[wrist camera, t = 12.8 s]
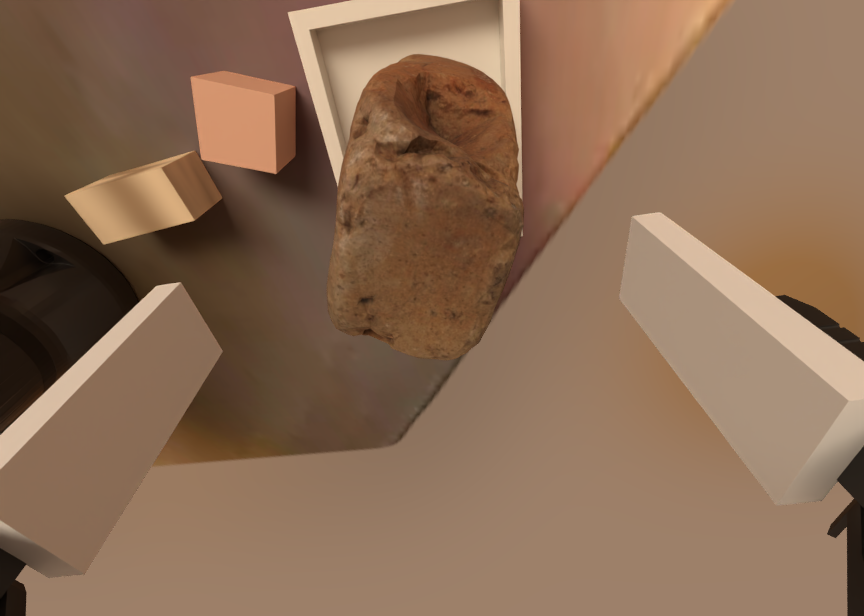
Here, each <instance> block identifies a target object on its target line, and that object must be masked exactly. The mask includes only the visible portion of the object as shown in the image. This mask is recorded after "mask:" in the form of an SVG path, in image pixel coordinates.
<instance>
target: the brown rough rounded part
mask: <svg viewBox="0 0 864 616" xmlns="http://www.w3.org/2000/svg"><path fill="white" fill-rule="evenodd" d="M518 152H519V147H518V143H517V137H516V130H515V124H514V120H513V115H512V111H511V107H510V103H509V101H508V98H507V96H506V94H505V92H504V91H503V90H502V88H501V87H500V86H499V85H498V84H497V83H496V82H495V81H494V80H493V79H492V78H490V77H489V76H487V75H486V74H485V73H484V72H482V71H480V70H478V69H476V68H474V67H472V66H470V65H467V64H465V63H462V62H458V61H455V60H452V59H448V58H444V57H439V56H432V55H424V54H412V55H409V56H406V57H404V58H402V59H401V60H400V61H399V62H398V63H394V64H391V65H389V66H387V67H385V68H383V69H381V70H379V71H378V72H377V73H375V74H374V75H373V76H372V78H371V79H370V80H369V82H368V83H367V85H366V87H365V88H364V89H363V91H362V93H361V96H360V99H359V101H358V103H357V106H356V110H355V113H354V117H353V120H352V124H351V128H350V137H349V141H348V144H347V148H346V151H345V155H344V158H343V162H342V166H341V172H340V177H339V183H338V193H337V210H336V225H335V235H334V244H333V249H332V254H331V259H330V265H329V273H328V281H327V304H328V313H329V315H330V318H331V320H332V322H333V324H334V325H335V327H336V329H338V330H340V331H342V332H344V333H346V334H349V335H352V336H356V335H361V334H362V335H370V336H372V337H374V338H377V339H379V340H381V341H383V342H386V343H388V344H389V345H390V346H391V348H393V349H395V350H398V351H400V352H403V353H405V354H408V355H411V356H414V357H418V358H427V359H440V360H451V359H456V358H458V357H459V356H461V355H463V354H465V353H467V352H468V351H469V350H470V349H471V348H473V347H474V346H475V345H477V344H478V343H479V342H480V340H481V338H482V336H483V334H484V333H485V331H486V329H487V327H488V325H489V323H490V321H491V318H492V315H493V311H494V308H495V306H496V303H497V301H498V299H499V297H500V295H501V293H502V291H503V289H504V286H505V283H506V281H507V278H508V275H509V273H510V270H511V267H512V264H513V261H514V257H515V254H516V251H517V248H518V245H519V242H520V238H521V233H522V229H523V215H524V207H523V203H522V199H521V198H520V196H519V191H518V188H517V185H516V184H517V180H518V172H519V163H518V160H517V158H518Z"/></svg>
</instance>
